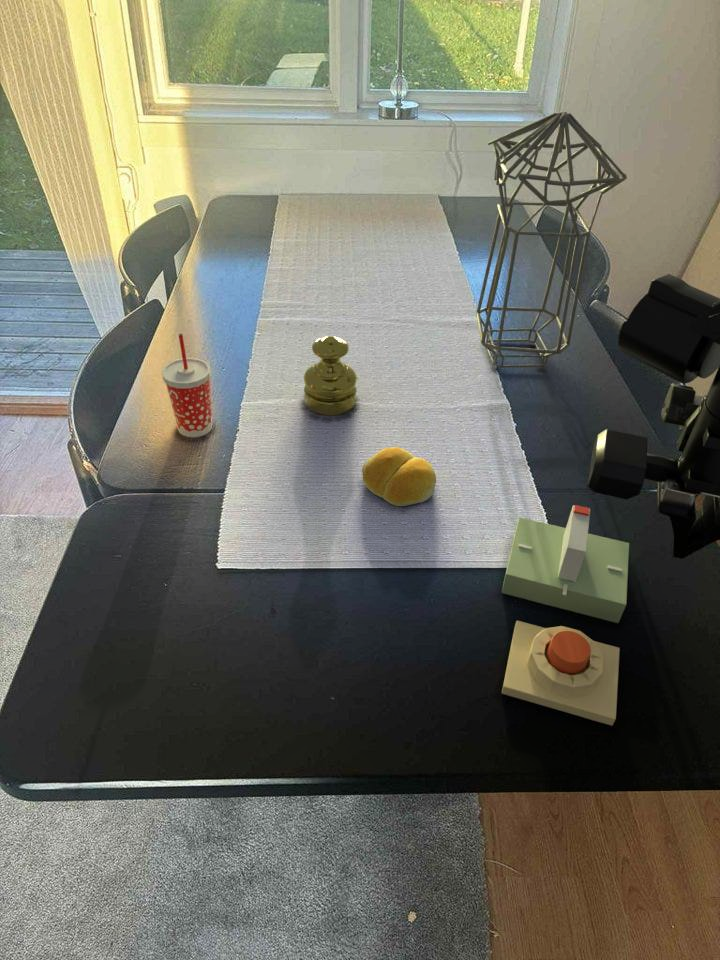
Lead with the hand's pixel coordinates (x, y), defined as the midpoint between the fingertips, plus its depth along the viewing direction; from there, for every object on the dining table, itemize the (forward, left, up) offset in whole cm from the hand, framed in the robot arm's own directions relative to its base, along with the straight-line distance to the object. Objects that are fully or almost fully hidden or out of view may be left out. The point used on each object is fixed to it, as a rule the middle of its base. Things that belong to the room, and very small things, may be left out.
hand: (677, 554), depth 62 cm
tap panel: (+8, -5, -12) cm, 15 cm away
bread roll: (+29, -14, -12) cm, 34 cm away
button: (+7, +7, -9) cm, 14 cm away
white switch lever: (+8, -6, -9) cm, 13 cm away
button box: (+7, +7, -12) cm, 16 cm away
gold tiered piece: (+43, -28, -12) cm, 53 cm away
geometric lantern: (+20, -50, -12) cm, 55 cm away
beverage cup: (+58, -16, -12) cm, 61 cm away
